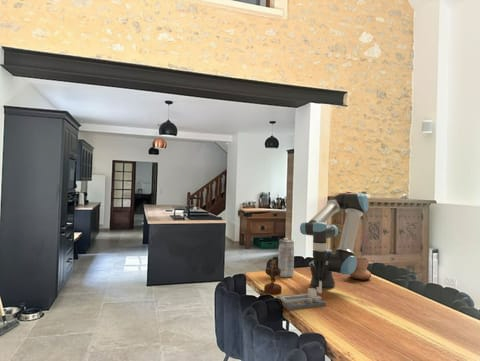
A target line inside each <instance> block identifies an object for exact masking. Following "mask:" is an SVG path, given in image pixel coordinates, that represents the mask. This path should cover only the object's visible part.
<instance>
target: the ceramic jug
mask: <svg viewBox="0 0 480 361" xmlns="http://www.w3.org/2000/svg"><path fill="white" fill-rule="evenodd" d="M355 257H356V259H357V266H356V269H355V271H354V272H353V273H352V274H350V275H349V276H350V277H351V278H353V279H355V280H361V281H366V280H369V279H371V277H372V272H370V271H369V270H368V269H367V268H368V267H369V264H370V265H371V264H372V262H371V261H370V258H368V257H365V256H362V257H361V256H355Z"/></svg>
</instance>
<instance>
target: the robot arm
mask: <svg viewBox="0 0 480 361" xmlns="http://www.w3.org/2000/svg"><path fill="white" fill-rule="evenodd" d="M369 205H370V203H369V198H368V197H367V195H366V194H364V193H359V192H358V193H352V192H351V193H348V192H347V193H345V192H343V193H338V194H335V196H333V197H331V198H330V199H329V200H328V201H327V202H326V205H325V206H324V207H323V208H321V209H320V210H319V212H317V213H316V214H315V215H314V216H313V217H312V218H311V219H310V220H309V221H307V222H301V223H300V225H299V231H300V233H301V234H302V235H304V236H310V237H312V249H313V250H312V261H310V262H308V266H309V269H310V272H311V280H310V286H311V287H312V288H314V289H316V293H318V294H322V293H323V290H331V289H334V288H335V287H336V286H335V284H336V283H335V280H334V277H333V273H336V274H341V275H346V276H350V274H352V273H353V272H354V271H355V269H356V266H357V259H356V257H357V256H356V255H355V253H354V248H355V243H356V238H357V233H358V231H359V230H358V229H359V225H360V219H361V217H363V216H364V213H366V212H368V210H369V207H370V206H369ZM340 211H344V212H345V213H346V215H345V220H344V223H343V228H342V232H341V237H340V240H339V245H338V247H337V248H336V249H335V251H334V252H333V250H332V249H327V248H328V247H327V243H328V242H327V241H328V240H327V239H332V238H334V237H336V236H338V234H339V229H338V227H337V226H336V225H335V224H327V221H328V220H329V219H330V218H331V217H332V216H333V215H335V214H336V213H339V212H340Z"/></svg>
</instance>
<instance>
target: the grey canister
mask: <svg viewBox="0 0 480 361" xmlns="http://www.w3.org/2000/svg"><path fill="white" fill-rule="evenodd" d="M294 245H295V243H294V241H293V239H288V237H284V238H283V239H279V240H278V255H277V256H278V257H277V258H278V264H277V267H278V268H280V270H281V273H280V275H279V276H280V278H293V276H294V272H295V271H294V270H295V269H294V268H295V261H294V260H295V246H294Z"/></svg>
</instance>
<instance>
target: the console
mask: <svg viewBox="0 0 480 361" xmlns="http://www.w3.org/2000/svg"><path fill="white" fill-rule="evenodd" d="M276 298H277V299H280V300H281V301H282V303H283V305H282V306H283V307H284V308H285V309H287V310H288V311H296V310H305V309H311V308H312V309H313V308H321V307H326V306H327V301H326V300H323V299H322V297H321V296H320V295H318V294H317V293H316V297H311V298H309V297H308V292H304V293H294V294H286V295H285V294H284V295H276V296H275V299H276Z"/></svg>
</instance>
